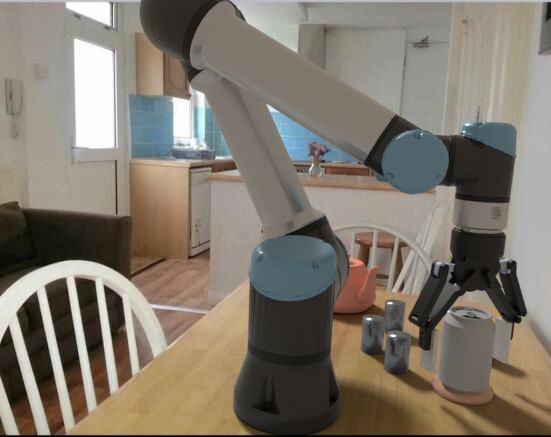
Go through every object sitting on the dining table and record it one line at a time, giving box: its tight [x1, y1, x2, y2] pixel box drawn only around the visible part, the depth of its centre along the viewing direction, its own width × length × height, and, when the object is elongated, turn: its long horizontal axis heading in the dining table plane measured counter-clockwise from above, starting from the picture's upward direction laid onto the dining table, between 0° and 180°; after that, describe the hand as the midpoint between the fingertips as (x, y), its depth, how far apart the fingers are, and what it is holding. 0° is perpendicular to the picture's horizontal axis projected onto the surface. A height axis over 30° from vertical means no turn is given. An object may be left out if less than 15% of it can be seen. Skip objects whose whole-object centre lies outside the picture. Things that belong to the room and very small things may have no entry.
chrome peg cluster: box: [360, 298, 495, 375], centre depth 93 cm, size 22×19×6 cm
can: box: [437, 305, 496, 395], centre depth 77 cm, size 8×8×12 cm
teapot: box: [333, 252, 383, 314], centre depth 114 cm, size 22×16×12 cm
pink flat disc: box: [430, 373, 494, 406], centre depth 78 cm, size 9×9×1 cm
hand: (464, 364), depth 77 cm, fingers open, 13 cm apart
